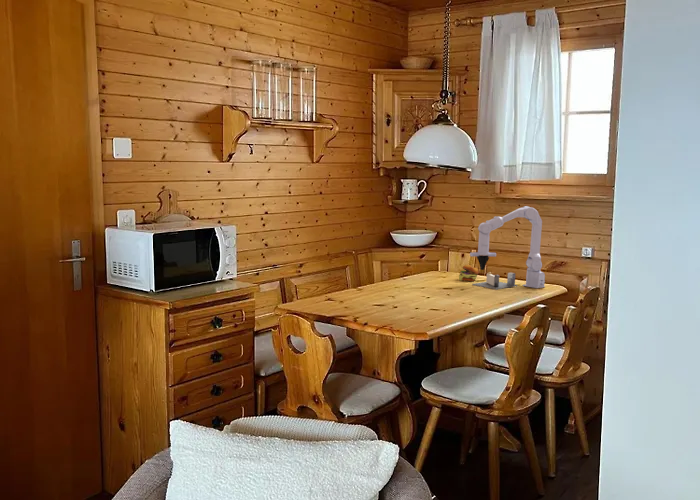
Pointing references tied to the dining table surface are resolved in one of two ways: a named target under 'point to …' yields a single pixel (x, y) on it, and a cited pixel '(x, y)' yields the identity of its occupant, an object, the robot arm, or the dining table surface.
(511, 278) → the stile
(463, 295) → the dining table surface
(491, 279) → the gate
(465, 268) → the cheeseburger
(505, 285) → the mat
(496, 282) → the hinge post
